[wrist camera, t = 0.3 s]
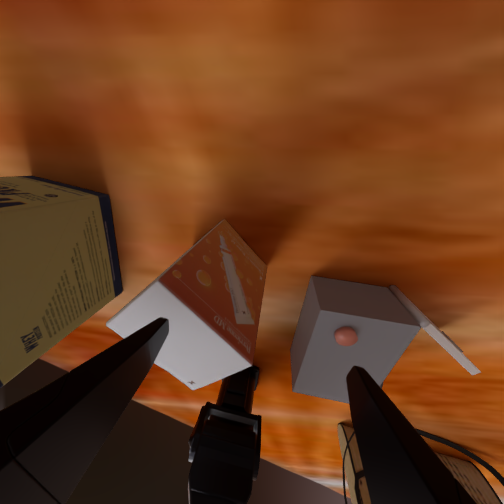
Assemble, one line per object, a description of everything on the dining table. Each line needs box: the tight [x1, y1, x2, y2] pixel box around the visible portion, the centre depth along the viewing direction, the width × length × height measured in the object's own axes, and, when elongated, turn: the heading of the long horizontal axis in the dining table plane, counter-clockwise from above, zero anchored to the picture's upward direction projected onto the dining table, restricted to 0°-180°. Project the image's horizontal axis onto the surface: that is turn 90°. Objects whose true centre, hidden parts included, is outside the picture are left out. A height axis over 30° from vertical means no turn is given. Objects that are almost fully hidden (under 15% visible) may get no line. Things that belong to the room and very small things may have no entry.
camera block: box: [290, 276, 421, 403], centre depth 22 cm, size 14×10×7 cm
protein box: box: [0, 176, 123, 388], centre depth 19 cm, size 10×16×16 cm
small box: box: [106, 219, 267, 390], centre depth 17 cm, size 8×6×13 cm
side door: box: [388, 285, 481, 375], centre depth 20 cm, size 10×1×6 cm, turn 50°
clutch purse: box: [338, 423, 504, 504], centre depth 28 cm, size 30×7×15 cm, turn 77°
